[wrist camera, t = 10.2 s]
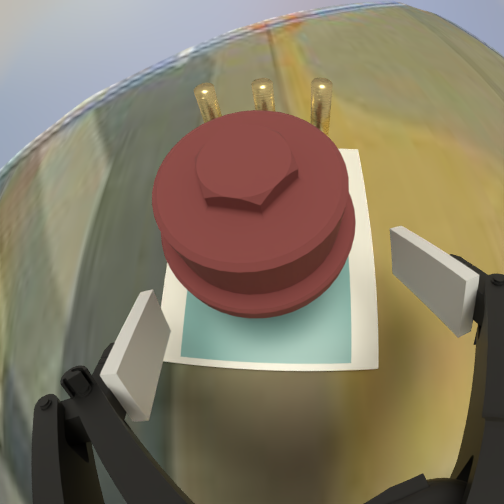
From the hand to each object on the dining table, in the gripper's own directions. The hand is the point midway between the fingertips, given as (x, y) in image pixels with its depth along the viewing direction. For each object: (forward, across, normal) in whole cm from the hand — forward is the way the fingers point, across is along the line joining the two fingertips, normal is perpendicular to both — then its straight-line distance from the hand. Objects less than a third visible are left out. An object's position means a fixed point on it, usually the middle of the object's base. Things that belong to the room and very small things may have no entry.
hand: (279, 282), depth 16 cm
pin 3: (+12, +6, +4) cm, 14 cm away
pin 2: (+13, +2, +4) cm, 14 cm away
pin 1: (+14, -2, +5) cm, 15 cm away
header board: (+9, 0, -1) cm, 9 cm away
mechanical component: (+7, 0, -2) cm, 7 cm away
